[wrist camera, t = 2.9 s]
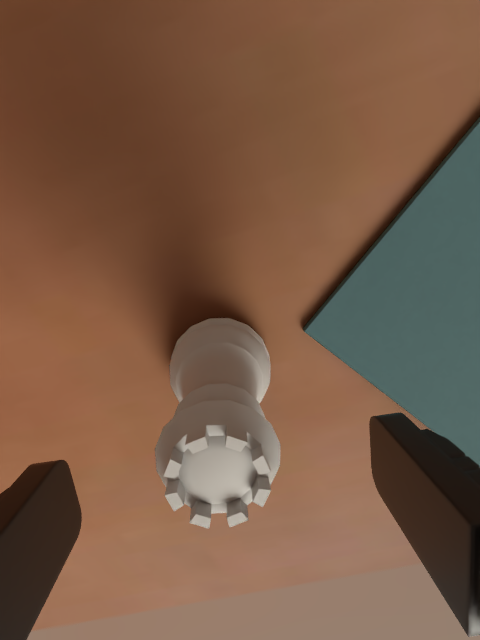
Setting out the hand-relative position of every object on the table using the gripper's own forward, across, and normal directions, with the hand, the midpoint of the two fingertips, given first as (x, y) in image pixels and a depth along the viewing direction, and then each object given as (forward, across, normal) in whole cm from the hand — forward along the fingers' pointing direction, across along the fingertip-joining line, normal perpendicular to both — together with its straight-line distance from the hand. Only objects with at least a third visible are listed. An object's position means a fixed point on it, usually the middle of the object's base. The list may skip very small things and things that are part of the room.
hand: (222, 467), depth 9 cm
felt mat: (+7, -13, -1) cm, 15 cm away
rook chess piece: (+7, 0, 0) cm, 7 cm away
